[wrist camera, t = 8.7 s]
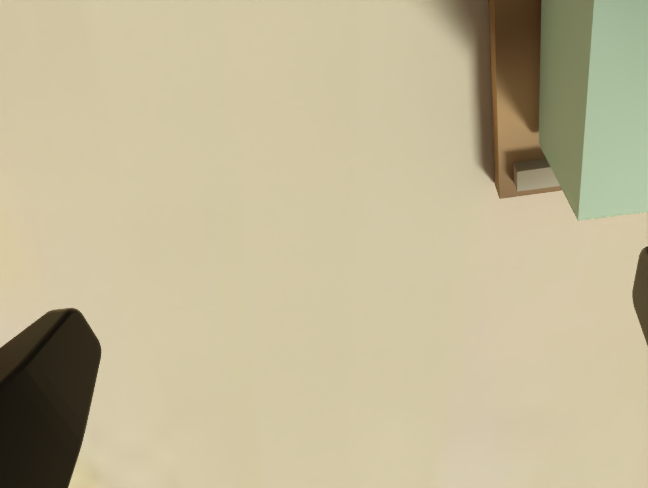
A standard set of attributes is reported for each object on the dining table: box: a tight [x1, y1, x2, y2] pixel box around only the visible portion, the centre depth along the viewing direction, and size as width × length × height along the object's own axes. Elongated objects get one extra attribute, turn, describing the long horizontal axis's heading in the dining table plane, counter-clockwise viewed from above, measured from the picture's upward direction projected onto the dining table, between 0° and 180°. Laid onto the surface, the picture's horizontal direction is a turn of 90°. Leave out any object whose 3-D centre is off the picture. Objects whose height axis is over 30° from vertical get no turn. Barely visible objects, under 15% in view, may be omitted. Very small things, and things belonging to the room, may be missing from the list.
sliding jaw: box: [539, 0, 648, 221], centre depth 14 cm, size 8×2×4 cm, turn 12°
